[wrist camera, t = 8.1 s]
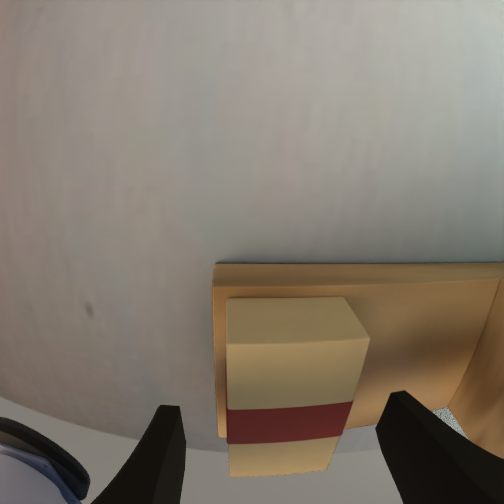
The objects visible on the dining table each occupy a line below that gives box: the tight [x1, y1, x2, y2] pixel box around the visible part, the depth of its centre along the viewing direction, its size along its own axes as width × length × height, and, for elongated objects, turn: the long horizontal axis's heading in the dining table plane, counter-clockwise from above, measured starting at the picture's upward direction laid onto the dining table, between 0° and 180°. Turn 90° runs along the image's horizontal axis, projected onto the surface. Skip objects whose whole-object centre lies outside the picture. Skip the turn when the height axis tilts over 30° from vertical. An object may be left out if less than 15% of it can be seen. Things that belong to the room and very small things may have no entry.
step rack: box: [212, 262, 504, 459], centre depth 10 cm, size 8×24×9 cm, turn 88°
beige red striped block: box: [225, 297, 370, 477], centre depth 11 cm, size 7×4×3 cm, turn 178°
